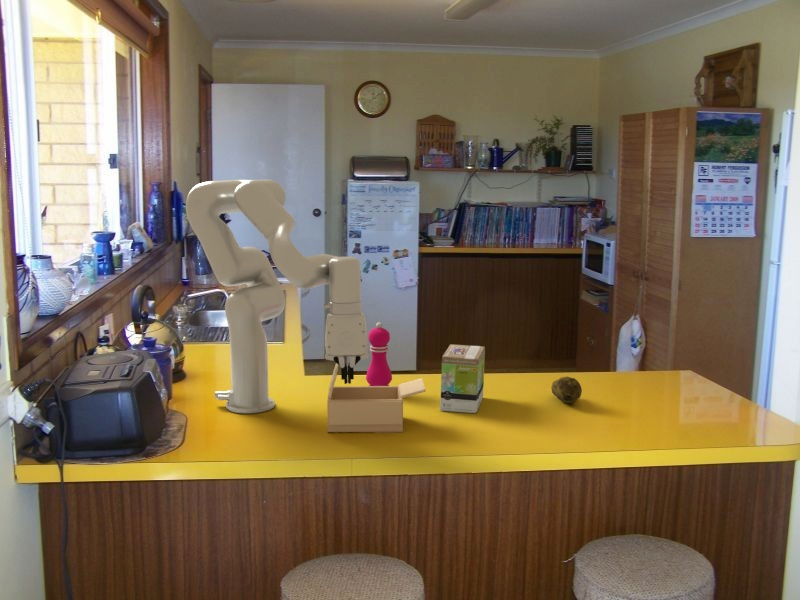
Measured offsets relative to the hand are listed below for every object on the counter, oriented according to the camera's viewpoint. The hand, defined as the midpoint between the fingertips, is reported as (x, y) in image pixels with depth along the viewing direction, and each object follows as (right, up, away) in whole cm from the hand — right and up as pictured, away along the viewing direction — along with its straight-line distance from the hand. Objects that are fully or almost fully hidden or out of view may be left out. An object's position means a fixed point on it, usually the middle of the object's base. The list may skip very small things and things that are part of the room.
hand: (347, 382), depth 206 cm
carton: (+4, -11, +3) cm, 12 cm away
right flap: (+13, -2, +1) cm, 13 cm away
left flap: (-4, -2, +1) cm, 5 cm away
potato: (+57, -8, +21) cm, 61 cm away
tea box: (+29, -8, +20) cm, 36 cm away
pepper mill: (+7, -6, +29) cm, 31 cm away
